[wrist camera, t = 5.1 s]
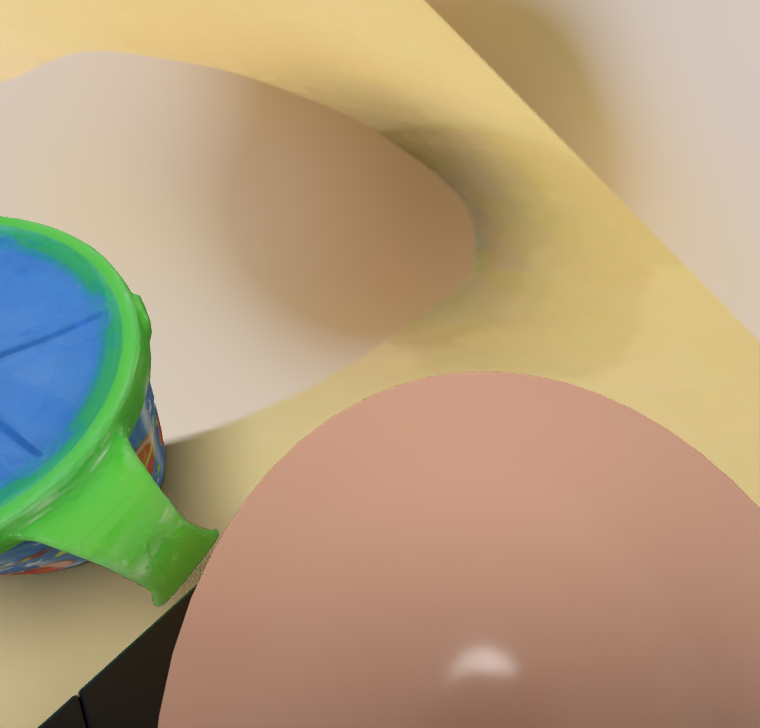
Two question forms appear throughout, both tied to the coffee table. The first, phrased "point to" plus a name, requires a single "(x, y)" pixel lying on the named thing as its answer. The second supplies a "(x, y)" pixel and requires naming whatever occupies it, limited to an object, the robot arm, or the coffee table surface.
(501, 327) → the coffee table surface
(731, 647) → the pink rounded cylinder
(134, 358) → the snack cup
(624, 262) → the coffee table surface
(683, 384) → the coffee table surface
